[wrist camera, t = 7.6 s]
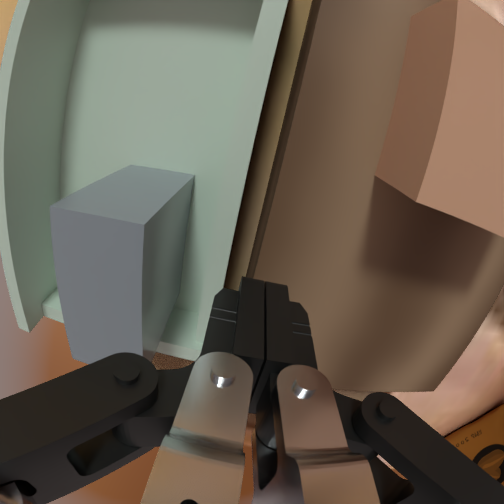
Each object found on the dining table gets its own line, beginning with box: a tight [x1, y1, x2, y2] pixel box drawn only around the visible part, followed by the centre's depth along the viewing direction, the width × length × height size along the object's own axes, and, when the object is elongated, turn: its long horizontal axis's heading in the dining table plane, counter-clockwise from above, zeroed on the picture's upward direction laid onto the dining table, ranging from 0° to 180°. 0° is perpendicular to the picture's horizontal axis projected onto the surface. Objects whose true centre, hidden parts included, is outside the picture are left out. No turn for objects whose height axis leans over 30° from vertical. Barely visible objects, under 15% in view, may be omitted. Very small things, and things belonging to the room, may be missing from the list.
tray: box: [0, 0, 289, 361], centre depth 10 cm, size 10×18×5 cm, turn 168°
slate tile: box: [50, 165, 195, 364], centre depth 11 cm, size 6×6×3 cm
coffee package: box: [445, 404, 504, 486], centre depth 14 cm, size 10×12×22 cm
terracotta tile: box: [375, 0, 504, 238], centre depth 7 cm, size 6×6×3 cm
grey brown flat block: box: [246, 0, 504, 392], centre depth 11 cm, size 12×18×4 cm, turn 168°
